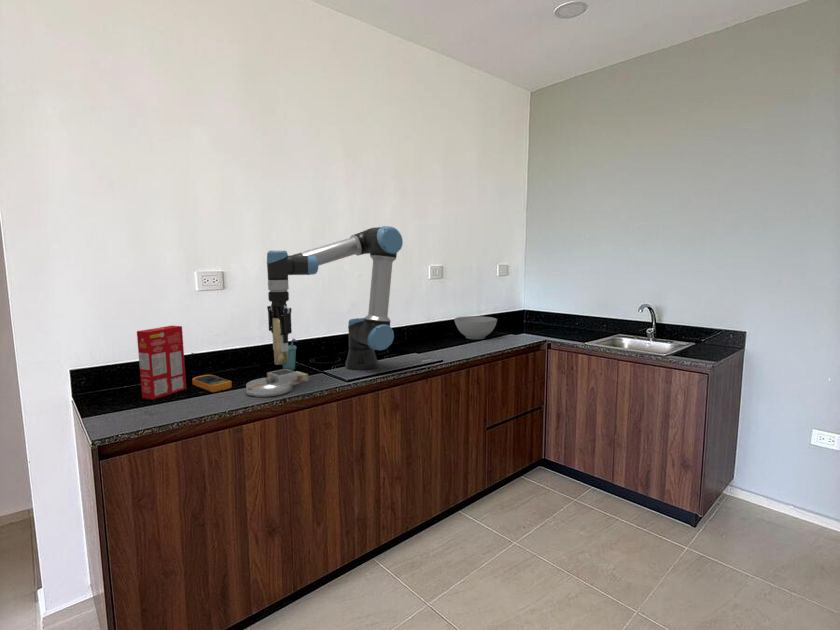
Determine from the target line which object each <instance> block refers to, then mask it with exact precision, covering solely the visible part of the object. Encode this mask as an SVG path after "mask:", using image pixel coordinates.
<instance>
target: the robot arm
mask: <svg viewBox="0 0 840 630" xmlns="http://www.w3.org/2000/svg"><path fill="white" fill-rule="evenodd" d="M403 243H404V242H403V237H402V234H401V232H400V231H399V230H398V229H397V228H395V227H393V226H389V225H388V226H387V225H386V226H385V225H384V226H378V227H377V226H376V227H371V228H368V229H365V230H363V231H361V232H358V233H355V234H351V235H350V237H349V238H347V239H346V238H345V239H343V240H339V241H336V242H331V243H329V244H325V245H322V246H319V247H314V248H312V249H308V250H305V251H301V252H299V253H294V254H292V255H288V252H287V250H268V251H267V254H266V268H267V270H266V271H267V287H268V289H267V290H268V294H267V295H268V296H267V297H268V301H269V302H270V303H271V305H267V306H266V308H267V314H268V315H267V316H268V331H270V332H271V334H272V335H273V318H277V317H278V318H279V319H280V326H281V332H282V334H280V336H281V352H285V351H288V345H289V335H290V334H292V331H293V330H292V310H293V309H292V307H288V304H287V302H288V301H289V300H290V294H289V288H290V287H289V276H310V275H313V276H314V275H316V274H317V273H318V271H319V266H322V265H325V264H329V263H331V262H335V261H338V260H342V259H344V258H348V257H351V256H353V255H356V256H357V257H358V256H363V255H366V254H370V255H369V257H370V258H371V260H372V269H371V278H370V279H371V280H370V290H369V291H370V293H369V302H368V314H367V315H365V317H358V318H350V319H349V320H348V323H347V324H348V325H347V327H348V328H347V329H348V354H347V357H346V359H345V360H346V361H345V368H346V369H349V370H354V371H355V370H357V371H359V370H360V371H361V370H362V371H363V370H372V369H375V368H377V367H379V364H378V363H379V360H378V359H377V355H376V352H375V351H383V350H386V349H388V348H389V347H390V346H392V343H393V341H394V338H395V333H394V330H393V328H392V326H391V319H390V318H389V316H388V315H389V306H390V304H389V303H390V296H391V295H390V294H391V291H390V290H391V282H392V281H391V280H392V274H393V273H392V272H393V271H392V270H393V263H394V262H395V261H396V260H397V255H398V253H399V251H400V250H401V249H402V247H403ZM272 350H273V351H274V339H273V338H272Z"/></svg>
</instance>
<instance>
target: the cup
mask: <svg viewBox="0 0 840 630" xmlns="http://www.w3.org/2000/svg"><path fill="white" fill-rule="evenodd" d="M294 342H296V343H298V342H299V341H298V339H295V338H293V339H291V342H290V344H288V351H287V356H288V363H287V364H283V365H282V369H288V370H291V371H295V369H296V355H297V353H296V352H297V347H298V346H296V345H295V344H294Z"/></svg>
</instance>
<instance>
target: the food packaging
mask: <svg viewBox="0 0 840 630" xmlns="http://www.w3.org/2000/svg"><path fill="white" fill-rule="evenodd" d="M183 337H184V336H183V326H182V325H167V326H162V327H156V328H155V327H154V328H149V329H142V330H137V331H136V339H137V350H138V351H137V353H138V363H139V364H138V365H139V375H140V376H139V377H140V387H141V398H142V399H144V398H146V399H145V400H150V399H151V400H152V401H154V400H156V398H157V399H159V398H163V397H166V396H169V395H172V394H176V393H179V392H181V390H182V391H184V389H185V390H187V379H186V366H185V352H184V349H185V347H184V338H183ZM178 391H179V392H178ZM153 399H154V400H153ZM151 400H150V401H151Z"/></svg>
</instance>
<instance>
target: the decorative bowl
mask: <svg viewBox="0 0 840 630" xmlns="http://www.w3.org/2000/svg"><path fill="white" fill-rule="evenodd" d="M453 321H454V323H455V326H456V328H457V329H458V331H459V333H460V334H462V335H463V336H465V338H466V339H468V340H483V339H485V338H486V336H488V335H490V334H491V333H492V331H493V330H494V329H495V327H496V325H497V322H498V318H495V317H492V316H484V315H483V316H482V315H481V316H477V315H475V316H474V315H470V316H467V315H466V316H458V317H457V316H456V317H455V318H454V320H453Z"/></svg>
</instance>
